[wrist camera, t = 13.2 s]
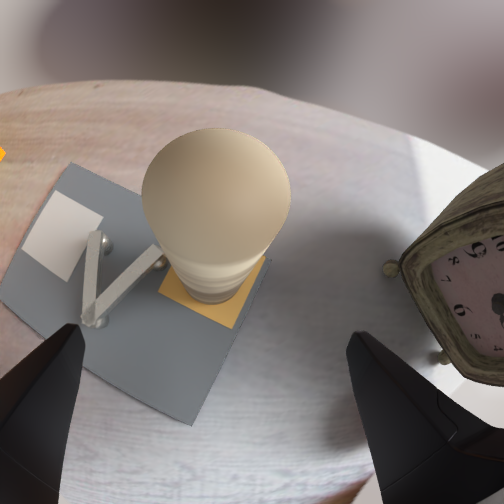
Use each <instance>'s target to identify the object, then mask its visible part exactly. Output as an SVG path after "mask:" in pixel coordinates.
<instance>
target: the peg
mask: <svg viewBox="0 0 504 504" xmlns="http://www.w3.org/2000/svg"><path fill="white" fill-rule="evenodd" d="M290 200H291V191H290V184H289V179H288V176H287V173H286V171H285V169H284V167H283V165H282V163H281V162H280V160H279V159H278V157H277V156H276V155H275V154H274V153H273V152H272V151H271V149H269V148H268V147H267V146H266V145H265V144H263V143H262V142H260V141H259V140H257V139H256V138H254V137H252V136H250V135H247V134H245V133H242V132H239V131H235V130H231V129H223V128H210V129H202V130H196V131H193V132H190V133H187V134H185V135H182V136H180V137H178V138H177V139H175V140H173V141H172V142H170V143H169V144H167V145H166V146H165V147H164V148H163V149H162V150H161V151H160V152H159V153H158V154H157V155H156V156H155V158H154V159H153V160H152V162H151V164H150V165H149V167H148V169H147V172H146V174H145V177H144V180H143V185H142V206H143V211H144V214H145V217H146V219H147V221H148V224H149V226H150V227H151V229H152V231H153V233H154V235H155V237H156V239H157V240H158V242H159V244H160V246H161V248H162V249H163V251H164V253H165V255H166V257H167V258H168V260H169V262H170V264H171V265H172V267H173V269H174V271H175V272H176V274H177V276H178V277H179V279H180V281H181V283H182V284H183V286H184V288H185V289H186V291H187V292H188V294H189V295H190V296H191V297H192V298H193V299H195V300H196V301H198V302H200V303H203V304H207V305H217V304H221V303H224V302H226V301H228V300H229V299H231V298H232V297H233V296H234V295H235V294H236V292H237V291H238V289H239V288H240V287H241V285H242V284H243V282H244V281H245V279H246V278H247V277H248V275H249V274H250V272H251V271H252V270H253V268H254V267H255V265H256V264H257V262H258V261H259V260H260V258H261V257H262V255H263V254H264V252H265V251H266V249H267V248H268V247H269V245H270V244H271V242H272V241H273V239H274V238H275V237H276V235H277V234H278V232H279V231H280V229H281V228H282V226H283V224H284V222H285V220H286V217H287V215H288V212H289V207H290Z"/></svg>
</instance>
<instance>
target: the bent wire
mask: <svg viewBox="0 0 504 504" xmlns="http://www.w3.org/2000/svg"><path fill="white" fill-rule="evenodd" d="M112 250H113V243H112V241H111V240H110V239H109V238H108V237H107V236H106V235H105V234H104V233H103V232H102V231H101V230H95V231H89V235H88V243H87V252H86V262H85V273H84V287H83V306H82V315H81V316H80V317H81V318H82V324H85V325H86V326H87V327H89V328H97V329H103V328H105V327H107V325H108V324H109V316H108V313H109V312H110V311H111V310H112V309H113V308H114V307H115V306H116V305H117V304H118V303H119V302H120V301H121V300H122V299H123V298H124V297H125V296H126V295H127V294H128V293H129V292H130V291H131V290H132V289H133V288H134V287H135V286H136V285H137V284H138V283H139V282H140V281H141V280H142V279H143V278H144V277H145V276H146V275H147V274H148V273H149V272H150V271H151V270H152V269H154V270H155V271H162V270H164V269H165V268H166V267H167V265H168V258H167V257H166V255H165V253H164V251H163V249H162V248H161V247H160V246H157V245H154V244H152V245H151V246H150V247H149V248H147V250H146V251H145V252H144V253H143V254H142V255H140V256H139V257H138V258H137V259H136V260H135V261H134V262H133V263H132V264H131V265H130V266H129V267H128V268H127V269H126V270H125V271H124V272H123V273H122V274H121V275H120V276H119V277H118V278H117V279H116V280H115V281H114V282H113V283H112V284H111V285H110V286H109V287H108V288H107V289H106V290H105V291H104V292H103V293H102V294H101V282H102V268H103V256H106V255H109V254H110V253H111V252H112Z"/></svg>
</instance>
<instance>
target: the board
mask: <svg viewBox="0 0 504 504" xmlns="http://www.w3.org/2000/svg"><path fill="white" fill-rule="evenodd" d="M95 230H101V231H102V232H103V233H104V234H105V235H106V236H107V237H108V238H109V239H110V240H111V241H112V243H113V250H112V252H111V253H110V254H109V255H106V256H103V268H102V282H101V294H102V293H103V292H104V291H105V290H106V289H107V288H108V287H109V286H110V285H111V284H112V283H113V282H114V281H115V280H116V279H117V278H118V277H119V276H120V275H121V274H122V273H123V272H124V271H125V270H126V269H127V268H128V267H129V266H130V265H131V264H132V263H133V262H134V261H135V260H136V259H137V258H138V257H139V256H140V255H142V254H143V253H144V252H145V251H146V250H147V248H149V247H150V246H151V245H152V244H154V245H157V246H160V244H159V242H158V240H157V239H156V237H155V235H154V233H153V231H152V229H151V227H150V226H149V224H148V221H147V219H146V217H145V214H144V211H143V206H142V196H140V195H138V194H136V193H134V192H132V191H130V190H128V189H126V188H124V187H122V186H120V185H118V184H115V183H113V182H111V181H109V180H107V179H105V178H103V177H101V176H99V175H97V174H95V173H93V172H91V171H89V170H87V169H85V168H83V167H81V166H79V165H77V164H74V163H72V162H70V164H69V165H68V167H67V168H66V169H65V171H64V172H63V174H62V175H61V177H60V178H59V180H58V181H57V183H56V184H55V186H54V187H53V189H52V190H51V192H50V193H49V195H48V196H47V198H46V200H45V201H44V203H43V204H42V206H41V208H40V209H39V211H38V213H37V214H36V216H35V218H34V219H33V221H32V223H31V225H30V227H29V228H28V230H27V232H26V234H25V236H24V238H23V239H22V241H21V243H20V245H19V247H18V249H17V251H16V253H15V255H14V257H13V259H12V261H11V263H10V265H9V268H8V270H7V272H6V274H5V276H4V279H3V281H2V283H1V285H0V300H1V301H2V302H3V303H4V304H5V305H7V306H8V307H9V308H10V309H11V310H12V311H13V312H14V313H15V314H17V315H18V316H19V317H20V318H21V319H22V320H23V321H25V322H26V323H27V324H28V325H29V326H30V327H32V328H33V329H34V330H35V331H37V332H38V333H39V334H40V335H42V336H43V337H44V338H45V339H48V338H49V337H50V336H51V335H52V334H54V333H55V332H56V331H57V330H59V329H60V328H61V327H62V326H63V325H65V324H66V323H75V324H78V325H79V326H80V329H81V331H82V334H83V337H84V340H85V345H86V346H85V353H84V359H83V365H82V366H84V367H85V368H87V369H88V370H90V371H91V372H93V373H94V374H96V375H97V376H99V377H101V378H102V379H104V380H105V381H107V382H109V383H110V384H112V385H113V386H115V387H117V388H118V389H120V390H122V391H124V392H125V393H127V394H129V395H131V396H132V397H134V398H136V399H138V400H140V401H141V402H143V403H145V404H147V405H149V406H151V407H153V408H155V409H156V410H158V411H160V412H162V413H164V414H166V415H168V416H170V417H173V418H175V419H177V420H179V421H181V422H183V423H185V424H187V425H190V426H192V425H193V423H194V421H195V419H196V417H197V415H198V413H199V411H200V409H201V407H202V405H203V403H204V401H205V399H206V397H207V395H208V393H209V391H210V389H211V387H212V385H213V383H214V381H215V379H216V377H217V375H218V373H219V370H220V368H221V366H222V364H223V362H224V360H225V358H226V356H227V354H228V352H229V350H230V348H231V346H232V344H233V342H234V339H235V337H236V335H237V333H238V331H239V329H240V327H241V325H242V323H243V321H244V318H245V316H246V314H247V312H248V310H249V308H250V306H251V304H252V302H253V299H254V297H255V295H256V293H257V291H258V289H259V287H260V284H261V282H262V280H263V278H264V276H265V274H266V272H267V269H268V267H269V265H270V263H271V261H272V260H271V259H269V258H267V257H266V256H264V255H262V257H261V258H260V260H259V261H258V262H257V264H256V265H255V267H254V268H253V270H252V271H251V272H250V274H249V275H248V277H247V278H246V279H245V281H244V282H243V284H242V285H241V287H240V288H239V289H238V291H237V292H236V294H235V295H234V296H233V297H232V298H231V299H229V300H228V301H226V302H224V303H221V304H217V305H207V304H203V303H200V302H198V301H196V300H195V299H193V298H192V297H191V296H190V295H189V294H188V292H187V291H186V289H185V288H184V286H183V284H182V283H181V281H180V279H179V277H178V276H177V274H176V272H175V271H174V269H173V267H172V265H171V264H170V262H169V260H168V265H167V267H166V268H165V269H164V270H162V271H155V270H154V269H152V270H151V271H150V272H149V273H148V274H147V275H146V276H145V277H144V278H143V279H142V280H141V281H140V282H139V283H138V284H137V285H136V286H135V287H134V288H133V289H132V290H131V291H130V292H129V293H128V294H127V295H126V296H125V297H124V298H123V299H122V300H121V301H120V302H119V303H118V304H117V305H116V306H115V307H114V308H113V309H112V310H111V311H110V312H109V313H108V316H109V324H108V325H107V327H105V328H103V329H97V328H89V327H87V326H86V325H85V324H82V318H81V317H80V316H81V315H82V306H83V287H84V273H85V262H86V252H87V243H88V235H89V231H95ZM160 247H161V246H160Z"/></svg>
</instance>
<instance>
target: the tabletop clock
mask: <svg viewBox="0 0 504 504" xmlns="http://www.w3.org/2000/svg"><path fill="white" fill-rule="evenodd" d="M383 272H384V274H385V275H386V276H387V277H390V278H394V277H396V276H397V275H398V274H399V272H400V273H401V276H402V279H403V281H404V283H405V285H406V287H407V289H408V291H409V293H410V295H411V297H412V298H413V300H414V302H415V304H416V305H417V307H418V309H419V311H420V313H421V314H422V316H423V318H424V320H425V322H426V324H427V326H428V327H429V329H430V330H431V332H432V333H433V335H434V336H435V338H436V340H437V341H438V343H439V344H440V346H441V348H442V349H443V350H442V351H441V352H440V353H439V355H438V360H439V362H440V363H441V364H442V365H447V364H449V363H452V364H453V366H454V367H455V368H456V369H457V370H458V371H459V373H460V374H461V375H462V376H463V377H464V378H467V379H469V380H472V381H474V382H478V383H482V384H486V385H491V386H498V387H504V163H503V164H501V165H499V166H498V167H496V168H494V169H492V170H491V171H489V172H487V173H485V174H483V175H482V176H480V177H479V178H477V179H476V180H475V181H474V182H473V183H471V184H470V185H469V186H468V187H467V188H465V189H464V190H463V191H462V192H461V193H459V194H458V195H457V196H456V197H455V198H454V199H453V200H452V201H451V202H450V203H449V205H448V206H447V207H446V208H445V209H444V210H443V211H442V212H441V214H440V215H439V216H438V217H437V218H436V219H435V220H434V221H433V222H432V223H431V224H430V226H429V227H428V228H427V229H426V230H425V231H424V232H423V233H422V234H421V235H420V236H419V237H418V238H417V239H416V240H415V241H414V242H413V243H412V244H411V245H410V246H409V247H408V248H407V250H406V251H405V252H404V253H403V254H402V256H401V258H400V260H399V262H397V261H396V260H388V261H387V262H386V263H385V264H384V266H383Z"/></svg>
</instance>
